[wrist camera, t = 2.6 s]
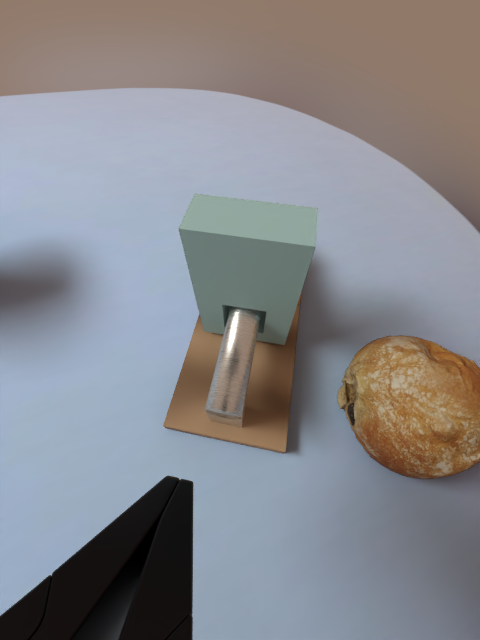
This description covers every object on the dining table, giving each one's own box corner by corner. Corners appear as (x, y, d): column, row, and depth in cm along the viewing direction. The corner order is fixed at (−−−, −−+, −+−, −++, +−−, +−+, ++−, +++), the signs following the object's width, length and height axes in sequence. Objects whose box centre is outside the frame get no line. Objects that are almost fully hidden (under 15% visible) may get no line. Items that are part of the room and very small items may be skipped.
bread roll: (329, 369, 27) (313, 343, 20) (442, 334, 24) (465, 290, 18) (371, 483, 22) (367, 496, 15) (521, 457, 19) (594, 458, 12)
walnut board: (283, 453, 20) (285, 451, 19) (166, 428, 21) (162, 425, 20) (302, 263, 29) (304, 255, 28) (222, 252, 30) (221, 244, 29)
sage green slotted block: (284, 345, 23) (315, 246, 13) (203, 331, 23) (178, 228, 14) (288, 315, 24) (318, 208, 15) (212, 303, 25) (194, 193, 15)
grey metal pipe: (243, 427, 20) (243, 413, 16) (209, 420, 20) (200, 404, 16) (274, 252, 29) (279, 214, 25) (250, 249, 29) (252, 211, 25)
